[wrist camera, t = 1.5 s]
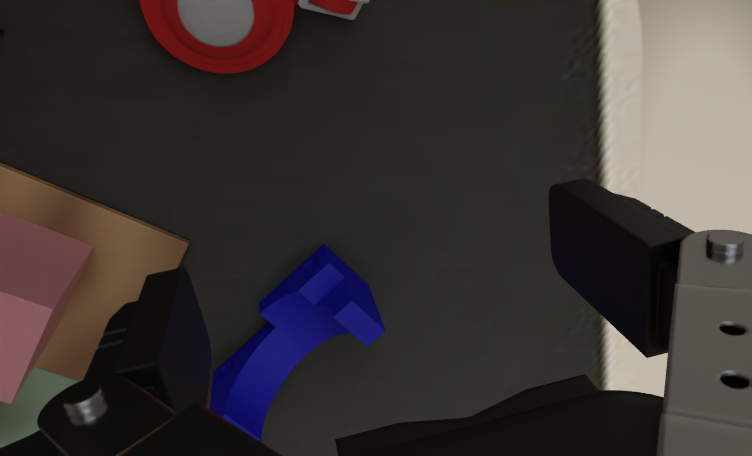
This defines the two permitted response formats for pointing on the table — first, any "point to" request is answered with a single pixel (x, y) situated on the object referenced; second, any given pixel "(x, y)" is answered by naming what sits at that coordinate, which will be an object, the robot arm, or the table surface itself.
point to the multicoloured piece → (80, 284)
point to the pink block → (32, 293)
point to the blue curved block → (293, 336)
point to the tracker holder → (231, 28)
